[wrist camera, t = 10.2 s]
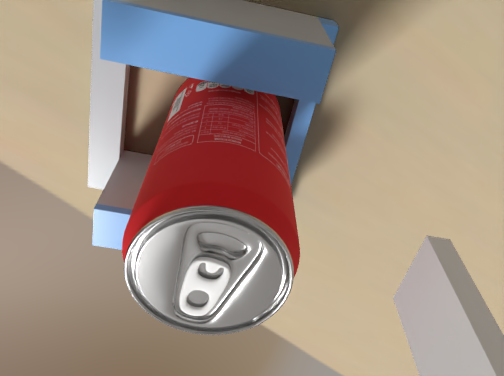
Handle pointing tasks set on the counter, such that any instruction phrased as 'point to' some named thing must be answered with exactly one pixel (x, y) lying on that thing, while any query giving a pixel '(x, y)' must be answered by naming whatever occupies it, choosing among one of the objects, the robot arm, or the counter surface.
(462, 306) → the robot arm
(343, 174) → the counter surface
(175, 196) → the beverage can
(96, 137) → the grey blue slotted rack
